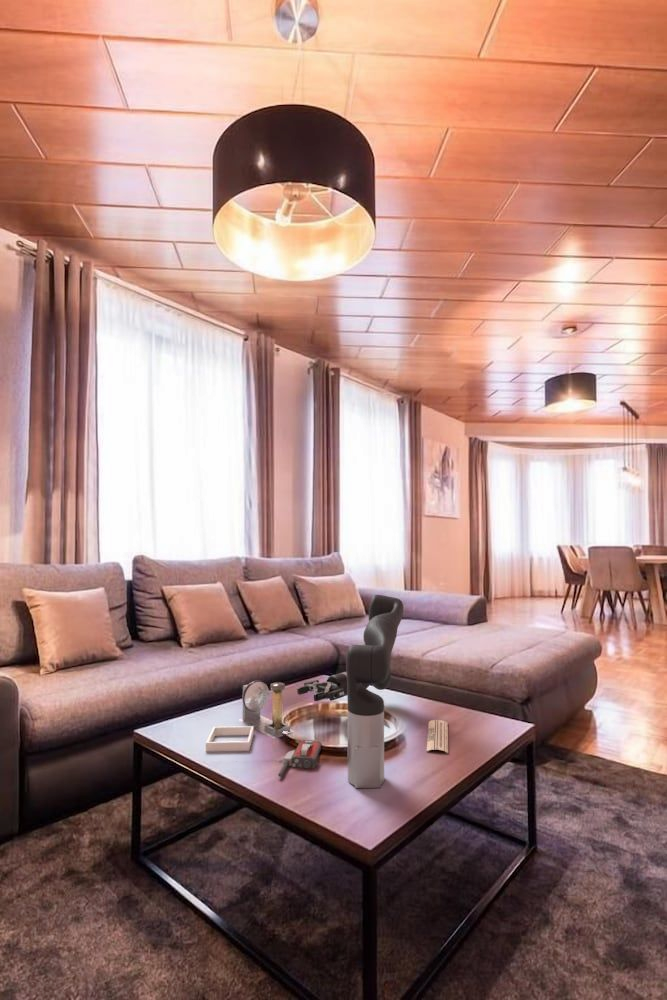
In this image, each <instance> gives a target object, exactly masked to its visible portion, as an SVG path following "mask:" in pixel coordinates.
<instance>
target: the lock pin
mask: <svg viewBox="0 0 667 1000" xmlns="http://www.w3.org/2000/svg"><path fill="white" fill-rule="evenodd" d="M269 688H270V689H269V690H271V691H272V719H271V720H272V728H274V729H278V728H282V723H283V691H284V690H285V688H286V685H285V683H283V682H273V683H270V687H269Z"/></svg>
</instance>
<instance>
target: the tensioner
mask: <svg viewBox="0 0 667 1000" xmlns="http://www.w3.org/2000/svg"><path fill="white" fill-rule="evenodd" d="M269 698H270V689H269V687H268V684H267V683H266V682H264V681H263V680H259V679H258V680H257V679H256V680H253V681H251V682H249V683H247V684H244V685H242V697H241V699H242V718H241V719H238V721H239V722H241V723H242V724H245V725H247V726H254V730H256V731H259V732H260V733H262V734H264V735H267V737H268V736H269V737H270V738H272V739H277V738H280V737H283V735H282V732H283V731H288V732H290V734H293V733H296V732H297V731H295V730H293V729H291V725H289V724H286V723H284V722H282V728H278V729H274V728H272V719H270V718H268V717H265V716H263V715H261V710H262V709H263V708H265V706H266V705H267V703H268V701H269Z"/></svg>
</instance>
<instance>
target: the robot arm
mask: <svg viewBox="0 0 667 1000" xmlns="http://www.w3.org/2000/svg"><path fill="white" fill-rule="evenodd" d="M403 616H404V603H403V601H402V600H401V599H400V598H397V597H393V596H389V595H388V596H387V595H384V594H383V595H382V594H374V595H373V596H372V597H371V599H370V602H369V608H368V622H367V624H366V627H365V629H364V632H363V637H362V638H363V642H364V644H352V645H349V647H348V648H347V652H346V656H345V657H346V658H345V659H346V660H345V666H346V667H345V670H346V671H343V672H340V673H336V674H332V675H330V676H328V677H327V679H326V681H320V680H319V679H315V680H311V681H307V682H304V683H303V685H302V686H299V687H297V688H296V691H297V695H299V696H300V695H305V694H307V693H312V694H313V701H314V702H319V701H322V700H325V701H327V700H329V701H330V702H331V701H335V700H338V699H342V698H344V697H346V696H347V697H346V698H347V781H348V782H349V784H351V785H352V786H354V788H355V789H364V788H365V789H367V788H368V789H370V788H371V789H373V788H375V789H376V788H378V789H379V788H381V785H382V784H383V783H384V782H385V701H384V698H383V697H382V696H380V695H379V694H377V693H375V692H373V691H370V690H369V689H368V688H369V686H370V685H372V686H373V687H374V688H375V689H377V690H379V691H382V690H385V689H387V688H388V687H389V685H390V684H391V680H392V671H391V659H392V653H393V648H394V645H395V642H396V639H397V636H398V635H397V634H398V628H399V627H400V623H401V621H402V619H403Z"/></svg>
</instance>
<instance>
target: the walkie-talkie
mask: <svg viewBox="0 0 667 1000" xmlns="http://www.w3.org/2000/svg"><path fill="white" fill-rule="evenodd" d="M321 746H323V744H322V742H320V740H309V739H308V740H307V739H303V740H301V741H300V742H299V743H298V745H297V747H296V748H295V749H292V750H289V751H288V752H287V753H286V754H285V756H284V757H283V759H282V761H283V765H282V767H281V769H280V770H279V773H278V774H277V775H278V777H280V778H282V777H283V775H284V773H285V771H286V770H287V769H288V767H291V768H303V769H316V766H317V764H318V762H319V755H320V752H321V751H322V748H321Z"/></svg>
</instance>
